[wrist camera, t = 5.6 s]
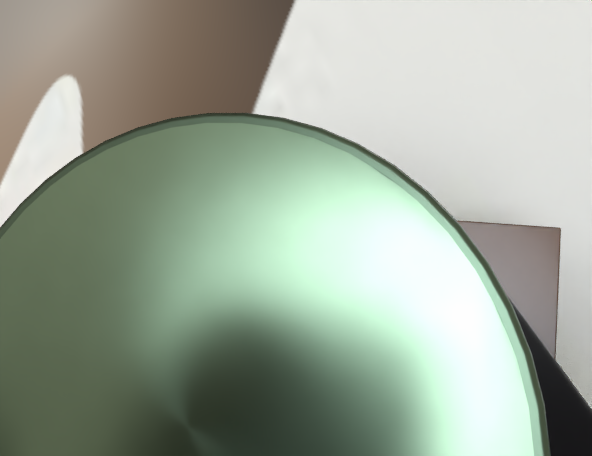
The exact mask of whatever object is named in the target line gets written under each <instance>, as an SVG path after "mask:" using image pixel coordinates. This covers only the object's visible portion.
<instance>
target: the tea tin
mask: <svg viewBox="0 0 592 456" xmlns="http://www.w3.org/2000/svg"><path fill="white" fill-rule="evenodd" d="M0 456H551V454H550V446H549V437H548V429H547V420H546V412H545V404H544V400H543V396H542V392H541V388H540V384H539V380H538V376H537V372H536V369H535V365H534V361H533V357H532V353H531V351H530V348H529V346H528V343H527V341H526V338H525V336H524V333H523V331H522V328H521V325H520V323H519V320H518V318H517V315H516V313H515V310H514V308H513V306H512V304H511V302H510V300H509V298H508V297H507V295H506V293H505V291H504V289H503V288H502V286H501V284H500V282H499V281H498V279H497V277H496V275H495V273H494V272H493V270H492V268H491V266H490V264H489V263H488V261H487V260H486V259H485V257H484V256H483V255H482V253H481V252H480V251H479V249H478V248H477V247H476V245H475V244H474V243H473V241H472V240H471V239H470V237H469V236H468V234H467V233H466V232H465V230H464V229H463V228H462V226H461V225H460V224H459V223H458V222H457V221H456V220H455V219H454V218H453V217H452V216H451V215H450V214H449V213H448V212H447V211H446V210H445V209H444V207H443V206H442V205H441V204H440V203H439V202H438V201H437V200H436V199H435V198H434V197H433V196H432V195H431V194H430V193H429V192H428V191H427V190H425V189H424V188H423V187H421V186H420V185H419V184H418V183H416V182H415V181H414V180H413V179H411V178H410V177H409V176H408V175H406V174H405V173H404V172H402V171H401V170H400V169H399V168H397V167H396V166H395V165H393V164H392V163H390V162H388V161H387V160H385V159H383V158H382V157H380V156H378V155H376V154H375V153H373V152H371V151H370V150H368V149H366V148H365V147H363V146H361V145H360V144H358V143H355V142H353V141H351V140H348V139H346V138H344V137H341V136H339V135H336V134H334V133H332V132H329V131H327V130H325V129H322V128H319V127H316V126H312V125H308V124H304V123H301V122H297V121H293V120H290V119H286V118H281V117H273V116H266V115H258V114H250V113H206V114H198V115H191V116H184V117H177V118H171V119H167V120H163V121H160V122H156V123H152V124H149V125H146V126H142V127H138V128H135V129H133V130H131V131H128V132H126V133H124V134H121V135H119V136H116V137H114V138H111V139H109V140H107V141H104V142H103V143H101V144H99V145H98V146H96V147H94V148H92V149H91V150H89V151H87V152H85V153H83V154H82V155H80V156H78V157H76V158H75V159H73V160H72V161H71V162H69V163H68V164H67V165H65V166H64V167H63V168H61V169H60V170H58V171H57V172H56V173H54V174H53V175H52V176H50V177H49V178H48V179H46V180H45V181H44V182H43V183H42V184H41V185H40V186H39V187H38V188H37V189H36V190H35V191H34V192H33V193H31V194H30V195H29V196H28V197H27V198H26V199H25V200H24V201H23V202H22V203H21V204H20V205H19V206H18V207H17V209H16V210H15V211H14V212H13V213H12V214H11V216H10V217H9V218H8V219H7V220H6V221H5V223H4V224H3V225H2V226H1V227H0Z"/></svg>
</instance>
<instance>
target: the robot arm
mask: <svg viewBox="0 0 592 456" xmlns="http://www.w3.org/2000/svg"><path fill="white" fill-rule="evenodd" d="M509 300H510V298H509ZM510 302H511V304H512V306H513V308H514V310H515V313H516V315H517V318H518V320H519V323H520V325H521V328H522V331H523V333H524V336H525V338H526V341H527V343H528V346H529V348H530V351H531V353H532V357H533V361H534V365H535V369H536V372H537V376H538V380H539V384H540V388H541V392H542V396H543V400H544V404H545V412H546V420H547V429H548V437H549V446H550V454H551V456H592V409H591V408H590V406H589V405H588V404H587V402H586V401H585V400H584V398H583V397H582V396H581V394H580V393H579V391H578V390H577V389H576V387H575V386H574V385H573V383H572V382H571V381H570V379H569V378H568V377H567V375H566V374H565V373H564V371H563V370H562V368H561V367H560V366H559V364H558V363H557V362H556V360H555V359H554V358H553V356H552V355H551V354H550V352H549V351H548V350H547V348H546V347H545V346H544V344H543V343H542V341H541V340H540V339H539V337H538V336H537V335H536V333H535V332H534V331H533V329H532V328H531V327H530V325H529V324H528V323H527V321H526V320H525V318H524V317H523V316H522V314H521V313H520V312H519V310H518V309H517V308H516V306H515V305H514V304H513V302H512V301H511V300H510Z"/></svg>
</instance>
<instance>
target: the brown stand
mask: <svg viewBox="0 0 592 456" xmlns="http://www.w3.org/2000/svg"><path fill="white" fill-rule="evenodd" d="M457 222H458V223H459V224H460V225H461V226H462V228H463V229H464V230H465V232H466V233H467V234H468V236H469V237H470V239H471V240H472V241H473V243H474V244H475V245H476V247H477V248H478V249H479V251H480V252H481V253H482V255H483V256H484V257H485V259H486V260H487V261H488V263H489V264H490V266H491V268H492V270H493V272H494V273H495V275H496V277H497V279H498V281H499V282H500V284H501V286H502V288H503V289H504V291H505V293H506V295H507V297H508V298H510V300H511V301H512V302H513V304H514V305H515V306H516V308H517V309H518V310H519V312H520V313H521V314H522V316H523V317H524V318H525V320H526V321H527V323H528V324H529V325H530V327H531V328H532V329H533V331H534V332H535V333H536V335H537V336H538V337H539V339H540V340H541V341H542V343H543V344H544V346H545V347H546V348H547V350H548V351H549V352H550V354H551V355H552V356H553V358H554V359H555V356H556V333H557V309H558V285H559V261H560V238H561V229H560V228H556V227H541V226H527V225H513V224H498V223H484V222H470V221H457Z"/></svg>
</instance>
